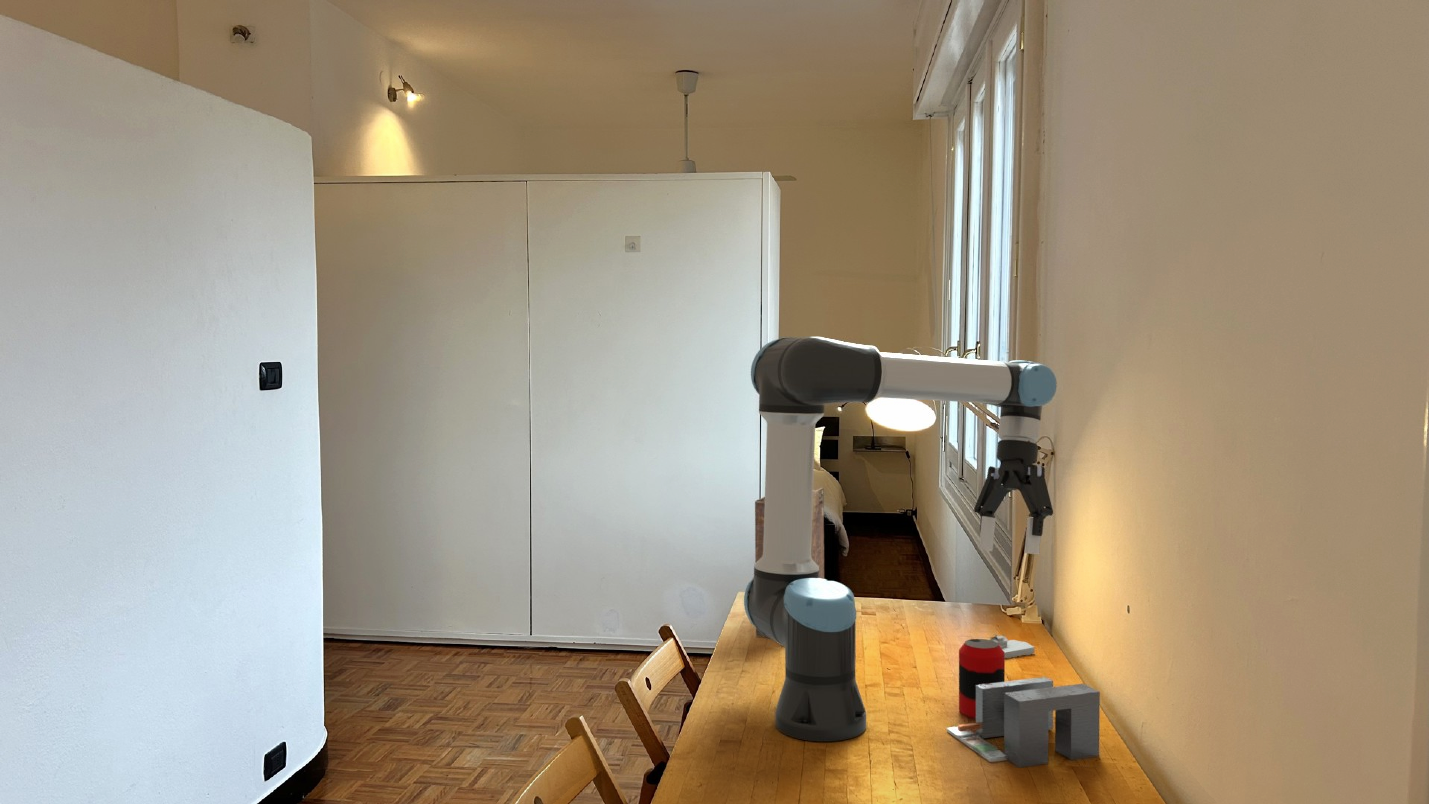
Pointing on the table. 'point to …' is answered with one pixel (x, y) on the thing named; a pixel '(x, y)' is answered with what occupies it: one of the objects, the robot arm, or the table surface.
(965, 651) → the soda can
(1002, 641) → the grey flat angular piece
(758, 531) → the book
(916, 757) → the table surface
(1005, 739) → the gauge bed
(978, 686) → the grey block
